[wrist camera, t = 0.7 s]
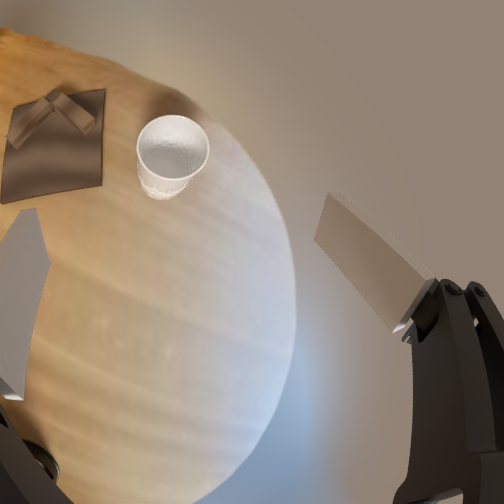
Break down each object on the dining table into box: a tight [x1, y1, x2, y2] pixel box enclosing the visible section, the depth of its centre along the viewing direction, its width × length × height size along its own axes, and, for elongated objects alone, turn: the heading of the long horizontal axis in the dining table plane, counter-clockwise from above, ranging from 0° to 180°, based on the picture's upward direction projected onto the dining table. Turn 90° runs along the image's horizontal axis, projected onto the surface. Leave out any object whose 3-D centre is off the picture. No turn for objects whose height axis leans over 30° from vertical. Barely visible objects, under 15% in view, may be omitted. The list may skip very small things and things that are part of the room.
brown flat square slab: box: [0, 89, 105, 204], centre depth 27 cm, size 16×16×3 cm
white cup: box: [137, 115, 210, 200], centre depth 31 cm, size 8×8×10 cm
